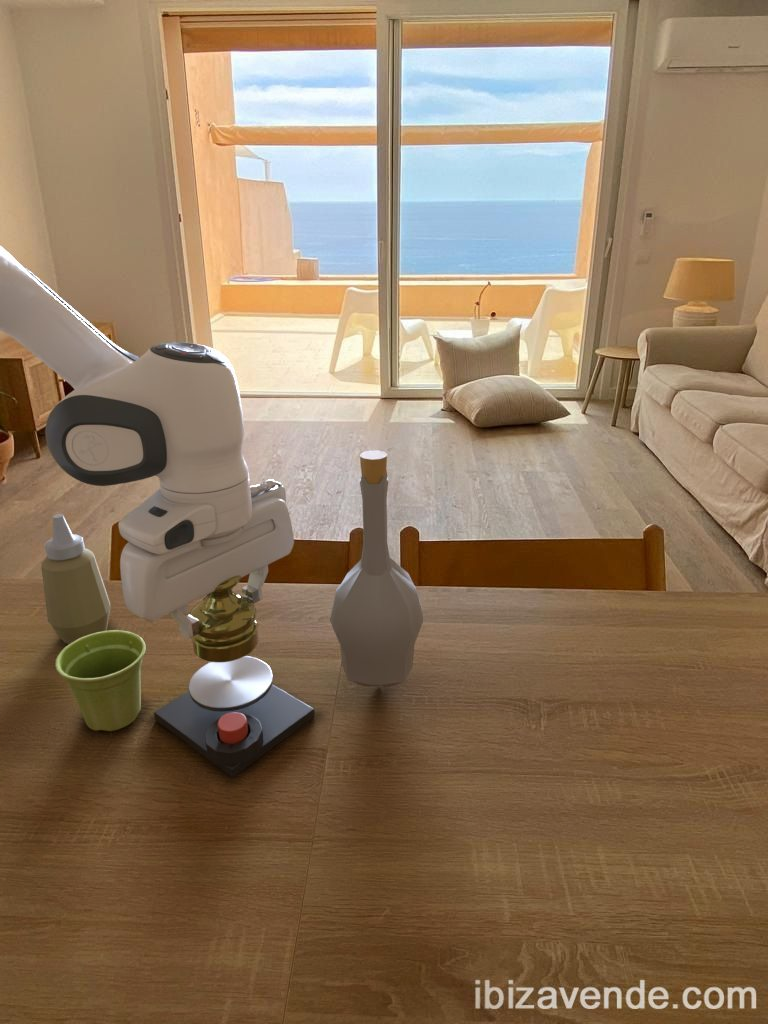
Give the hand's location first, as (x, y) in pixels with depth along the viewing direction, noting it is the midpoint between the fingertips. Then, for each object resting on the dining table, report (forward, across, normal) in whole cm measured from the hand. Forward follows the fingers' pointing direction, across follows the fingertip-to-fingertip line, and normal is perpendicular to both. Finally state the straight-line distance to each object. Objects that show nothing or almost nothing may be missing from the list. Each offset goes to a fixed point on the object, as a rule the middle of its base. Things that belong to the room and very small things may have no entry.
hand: (222, 617), depth 77 cm
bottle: (+12, -14, +11) cm, 21 cm away
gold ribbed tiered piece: (+4, 0, 0) cm, 4 cm away
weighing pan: (+9, 0, 0) cm, 9 cm away
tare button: (+10, +5, +7) cm, 13 cm away
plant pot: (+12, +10, -10) cm, 19 cm away
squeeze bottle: (+12, +4, -28) cm, 31 cm away
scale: (+12, +2, +2) cm, 12 cm away
